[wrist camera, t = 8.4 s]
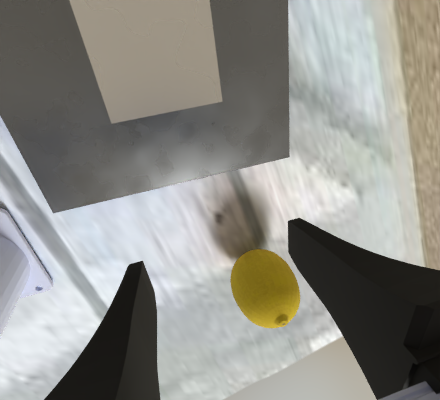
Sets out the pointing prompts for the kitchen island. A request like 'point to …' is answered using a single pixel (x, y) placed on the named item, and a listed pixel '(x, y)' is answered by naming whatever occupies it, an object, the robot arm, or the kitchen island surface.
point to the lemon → (265, 288)
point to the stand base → (147, 126)
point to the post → (150, 54)
